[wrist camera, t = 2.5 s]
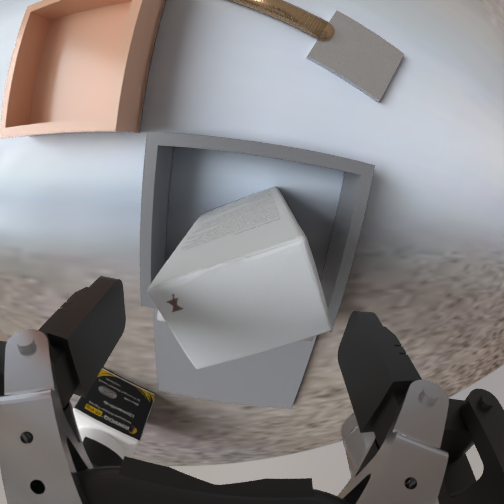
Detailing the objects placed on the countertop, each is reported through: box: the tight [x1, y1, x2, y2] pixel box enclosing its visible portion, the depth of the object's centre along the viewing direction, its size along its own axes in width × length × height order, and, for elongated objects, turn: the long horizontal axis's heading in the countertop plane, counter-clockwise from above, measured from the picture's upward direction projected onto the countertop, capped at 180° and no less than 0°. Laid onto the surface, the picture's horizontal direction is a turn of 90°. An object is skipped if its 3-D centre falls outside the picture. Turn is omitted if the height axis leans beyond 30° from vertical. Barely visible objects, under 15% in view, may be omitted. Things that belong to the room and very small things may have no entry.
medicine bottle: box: [73, 368, 155, 468], centre depth 23 cm, size 7×7×12 cm
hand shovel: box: [230, 0, 404, 102], centre depth 15 cm, size 16×5×2 cm, turn 62°
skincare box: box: [147, 187, 332, 369], centre depth 16 cm, size 6×4×12 cm
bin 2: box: [140, 132, 375, 409], centre depth 22 cm, size 14×24×4 cm, turn 172°
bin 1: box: [0, 0, 166, 138], centre depth 15 cm, size 12×12×4 cm
